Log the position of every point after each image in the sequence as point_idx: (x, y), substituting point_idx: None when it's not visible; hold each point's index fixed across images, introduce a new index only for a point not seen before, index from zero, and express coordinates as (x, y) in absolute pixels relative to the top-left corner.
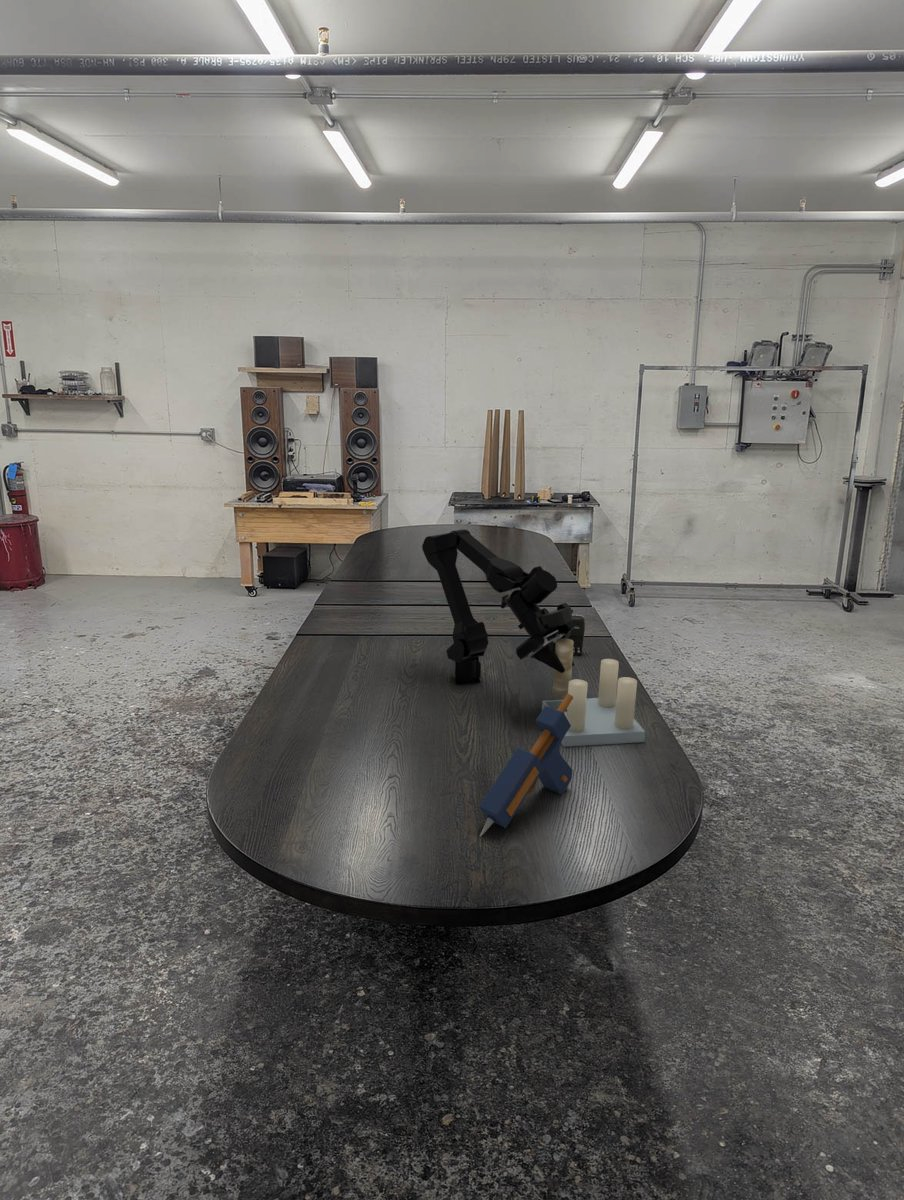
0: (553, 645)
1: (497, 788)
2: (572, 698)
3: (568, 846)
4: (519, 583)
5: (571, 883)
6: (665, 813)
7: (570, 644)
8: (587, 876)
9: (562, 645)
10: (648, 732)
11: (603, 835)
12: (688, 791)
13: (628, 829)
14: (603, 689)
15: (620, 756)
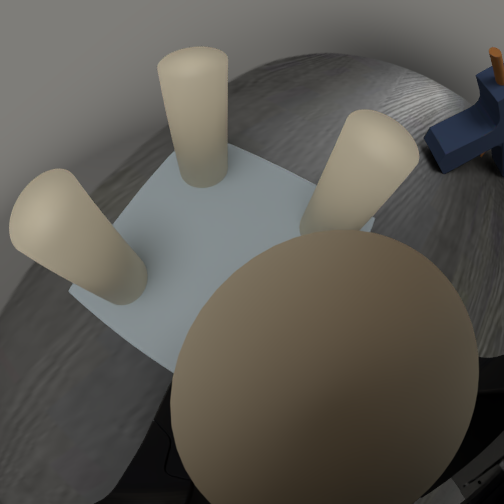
0: (487, 389)
1: None
2: (490, 49)
3: (449, 110)
4: None
5: (457, 97)
6: (339, 66)
7: (359, 237)
8: (445, 91)
9: (451, 304)
10: (150, 165)
11: (417, 94)
12: (278, 63)
13: (391, 81)
14: (127, 252)
15: (286, 141)
